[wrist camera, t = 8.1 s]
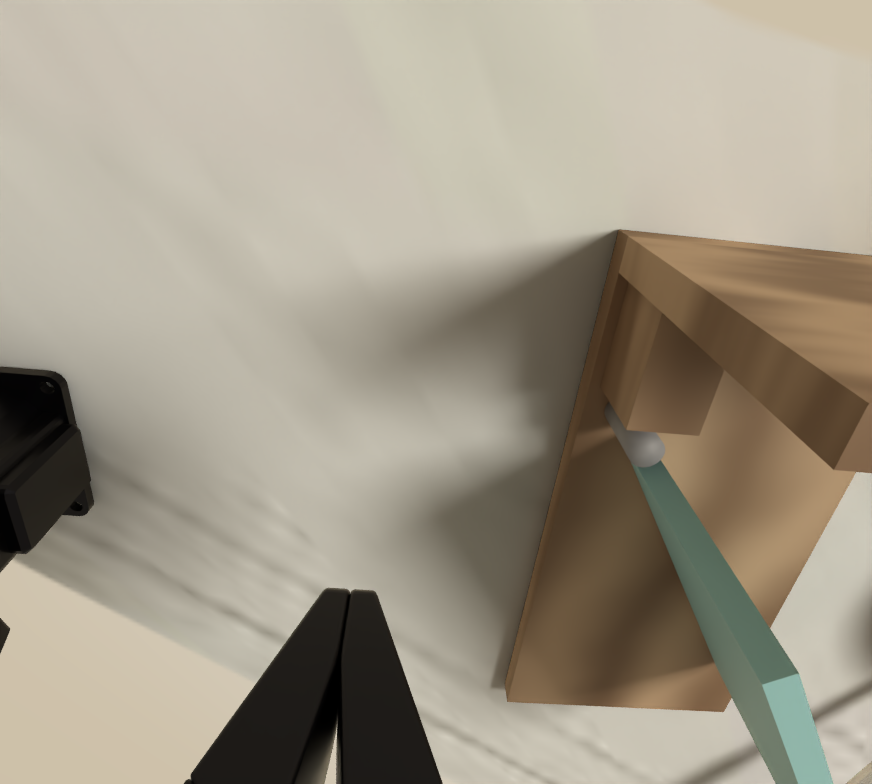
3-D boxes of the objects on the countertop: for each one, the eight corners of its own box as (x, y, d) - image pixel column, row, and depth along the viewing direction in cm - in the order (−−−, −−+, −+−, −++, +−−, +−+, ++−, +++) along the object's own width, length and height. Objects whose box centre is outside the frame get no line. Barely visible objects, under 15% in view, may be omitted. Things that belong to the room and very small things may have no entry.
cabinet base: (504, 683, 30) (549, 1007, 19) (618, 229, 19) (869, 403, 8) (714, 694, 31) (868, 1010, 20) (942, 263, 20) (1550, 461, 9)
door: (709, 663, 28) (848, 939, 19) (600, 404, 21) (736, 644, 12) (736, 655, 28) (889, 930, 19) (633, 389, 21) (800, 624, 12)
